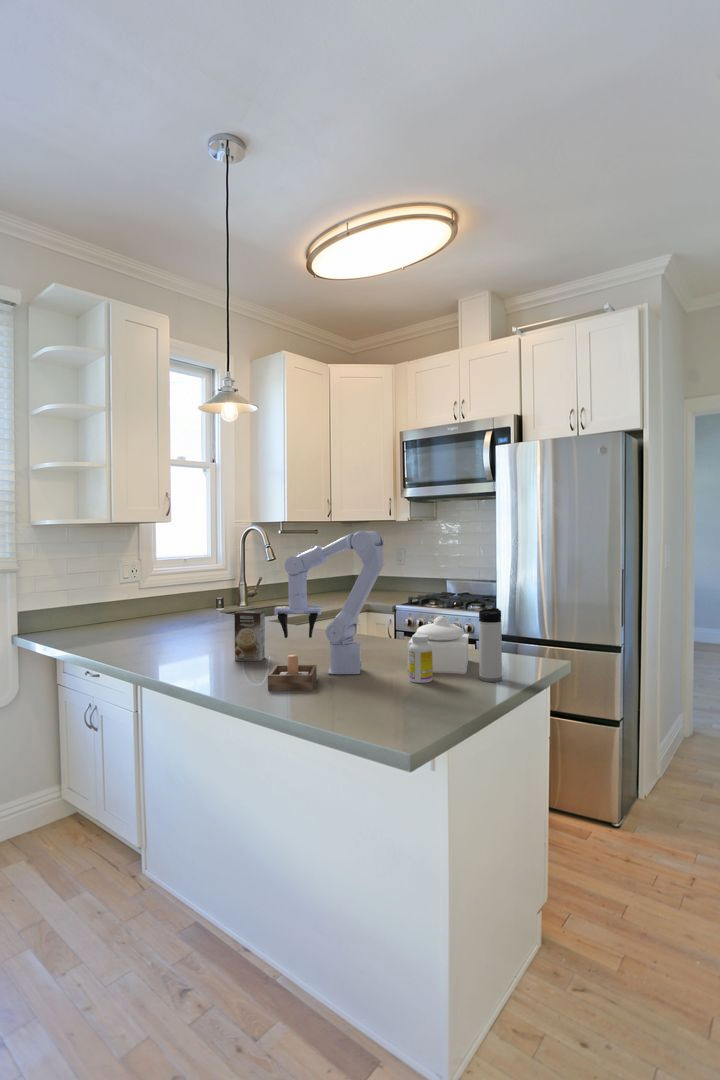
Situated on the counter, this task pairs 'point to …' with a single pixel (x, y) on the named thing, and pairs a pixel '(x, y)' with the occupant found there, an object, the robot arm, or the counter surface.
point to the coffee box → (249, 635)
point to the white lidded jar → (445, 646)
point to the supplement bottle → (420, 659)
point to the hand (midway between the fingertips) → (298, 637)
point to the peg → (292, 664)
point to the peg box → (292, 678)
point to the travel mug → (490, 645)
